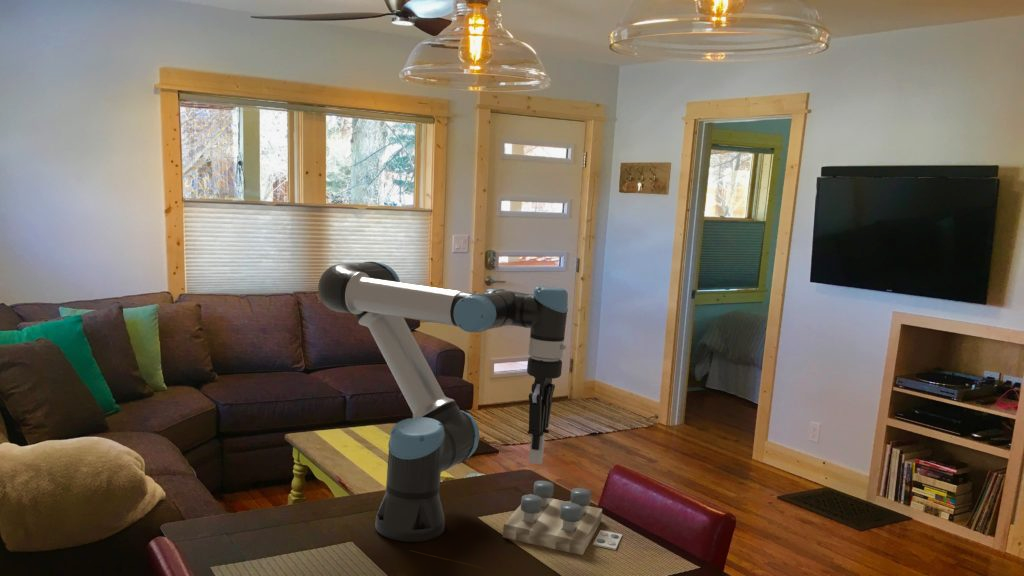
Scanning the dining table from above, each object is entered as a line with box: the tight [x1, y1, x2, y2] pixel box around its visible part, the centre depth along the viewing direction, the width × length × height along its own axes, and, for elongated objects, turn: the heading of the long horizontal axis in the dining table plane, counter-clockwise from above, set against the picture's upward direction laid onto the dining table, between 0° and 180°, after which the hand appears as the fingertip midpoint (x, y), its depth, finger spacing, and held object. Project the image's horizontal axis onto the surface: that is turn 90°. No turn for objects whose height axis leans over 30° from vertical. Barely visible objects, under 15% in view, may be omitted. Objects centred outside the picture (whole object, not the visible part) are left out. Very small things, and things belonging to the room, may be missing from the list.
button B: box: [533, 480, 555, 508], centre depth 177 cm, size 5×5×6 cm
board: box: [502, 493, 603, 556], centre depth 171 cm, size 18×20×3 cm
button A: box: [520, 494, 542, 524], centre depth 167 cm, size 5×5×6 cm
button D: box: [569, 487, 592, 516], centre depth 174 cm, size 5×5×6 cm
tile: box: [592, 529, 623, 551], centre depth 167 cm, size 5×8×1 cm, turn 162°
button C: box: [560, 503, 582, 532], centre depth 165 cm, size 5×5×6 cm
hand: (535, 462), depth 166 cm, fingers closed
